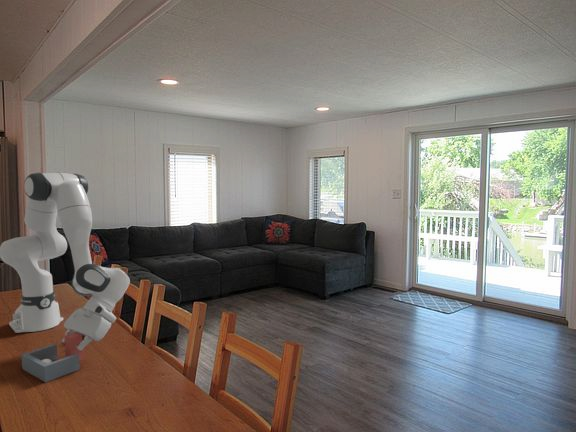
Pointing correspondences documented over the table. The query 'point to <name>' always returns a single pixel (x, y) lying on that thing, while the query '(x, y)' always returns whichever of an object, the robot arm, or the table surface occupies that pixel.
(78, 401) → the table surface
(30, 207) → the robot arm
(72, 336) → the red tall block
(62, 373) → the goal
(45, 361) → the ball
